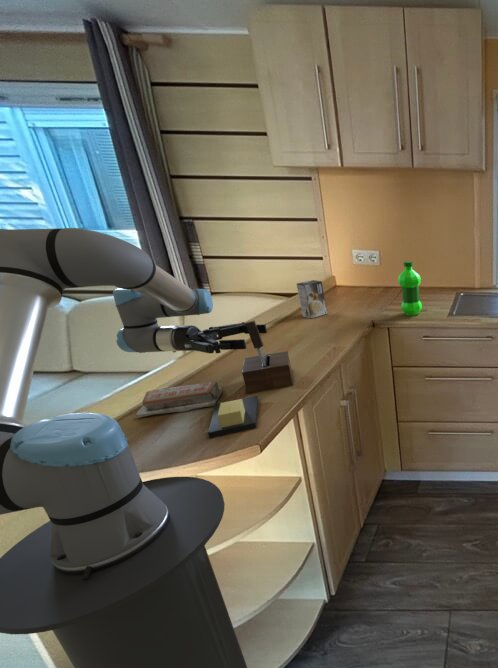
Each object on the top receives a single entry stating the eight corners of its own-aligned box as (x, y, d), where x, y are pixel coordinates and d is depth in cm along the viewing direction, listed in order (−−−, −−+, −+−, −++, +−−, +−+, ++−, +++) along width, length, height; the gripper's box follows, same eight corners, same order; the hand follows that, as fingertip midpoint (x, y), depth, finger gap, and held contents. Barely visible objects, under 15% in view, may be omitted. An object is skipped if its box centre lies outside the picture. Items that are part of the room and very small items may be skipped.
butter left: (232, 425, 101) (228, 413, 100) (220, 428, 100) (217, 415, 99) (234, 412, 107) (231, 400, 106) (223, 414, 106) (220, 402, 104)
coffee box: (319, 311, 198) (314, 279, 193) (327, 314, 195) (322, 281, 189) (302, 316, 191) (296, 283, 185) (310, 318, 188) (304, 284, 182)
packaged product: (219, 376, 120) (211, 391, 111) (223, 391, 121) (215, 406, 113) (144, 386, 113) (129, 403, 105) (150, 402, 115) (135, 419, 106)
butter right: (243, 423, 102) (240, 410, 101) (232, 425, 101) (228, 413, 100) (245, 410, 108) (242, 398, 107) (234, 412, 107) (231, 400, 106)
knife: (275, 382, 124) (252, 322, 118) (267, 385, 123) (243, 325, 117) (277, 375, 131) (255, 318, 125) (268, 378, 130) (246, 320, 124)
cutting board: (256, 427, 103) (255, 422, 102) (209, 438, 99) (207, 432, 98) (258, 400, 116) (257, 395, 116) (217, 408, 112) (215, 403, 111)
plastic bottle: (397, 316, 192) (392, 263, 183) (407, 310, 201) (402, 259, 192) (417, 317, 190) (413, 264, 181) (426, 311, 199) (422, 260, 190)
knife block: (292, 385, 125) (288, 364, 122) (247, 393, 120) (241, 372, 117) (291, 370, 135) (287, 351, 132) (249, 377, 130) (244, 357, 127)
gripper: (208, 335, 133) (275, 333, 135) (155, 367, 110) (237, 364, 112) (202, 314, 130) (271, 312, 132) (146, 341, 107) (231, 338, 109)
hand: (256, 336), depth 122 cm, fingers open, 13 cm apart
